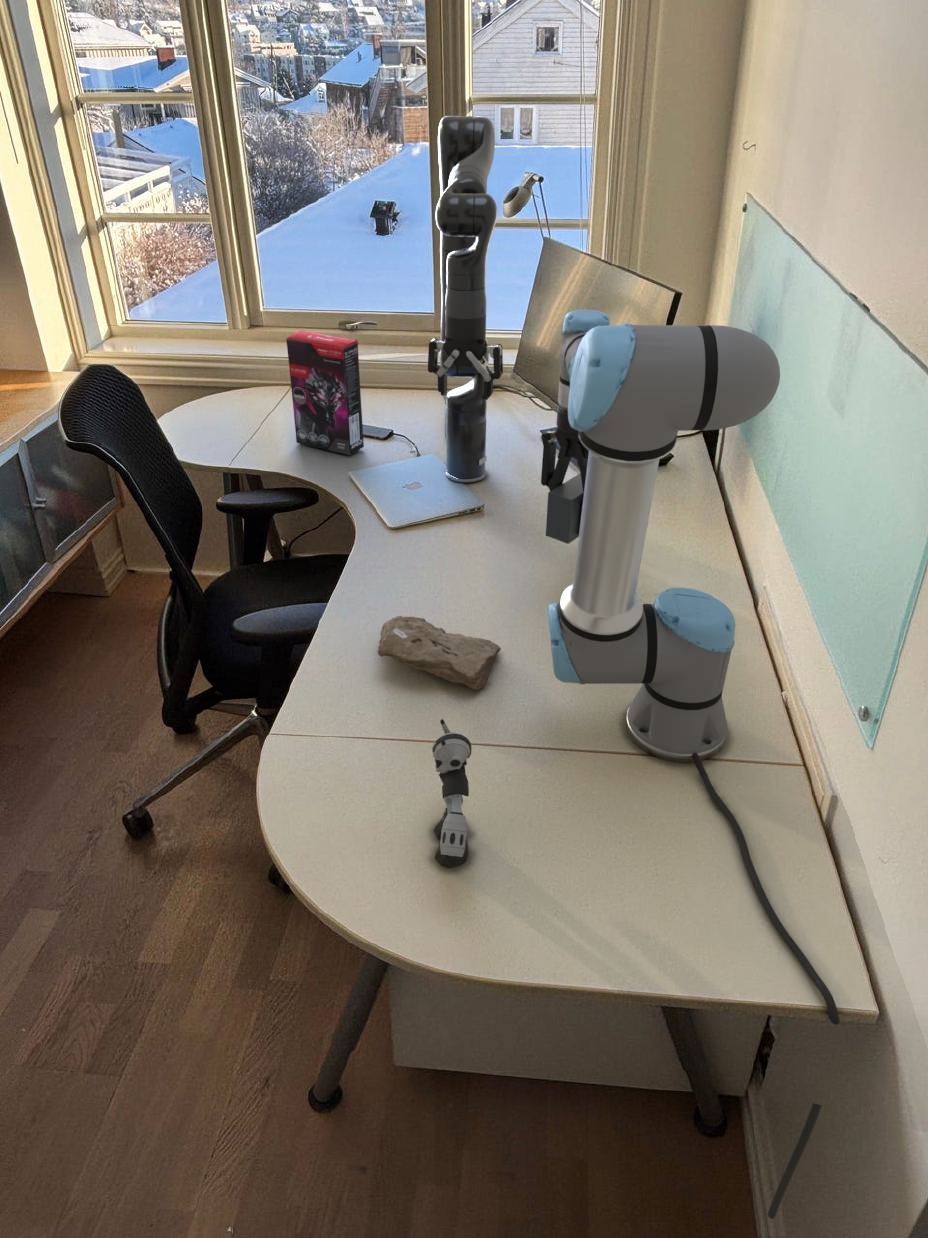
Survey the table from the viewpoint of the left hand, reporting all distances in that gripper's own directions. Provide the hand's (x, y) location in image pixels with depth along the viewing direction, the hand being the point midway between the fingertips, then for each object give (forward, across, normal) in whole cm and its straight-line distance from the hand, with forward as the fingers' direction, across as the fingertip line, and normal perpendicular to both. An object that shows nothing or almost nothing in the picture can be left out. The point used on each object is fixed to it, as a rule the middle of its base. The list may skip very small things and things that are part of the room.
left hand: (465, 396), depth 178 cm
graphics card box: (+30, +45, -35) cm, 64 cm away
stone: (+30, -7, +46) cm, 55 cm away
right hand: (+16, -25, +17) cm, 34 cm away
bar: (+17, -28, +10) cm, 34 cm away
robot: (+30, -21, +84) cm, 92 cm away
